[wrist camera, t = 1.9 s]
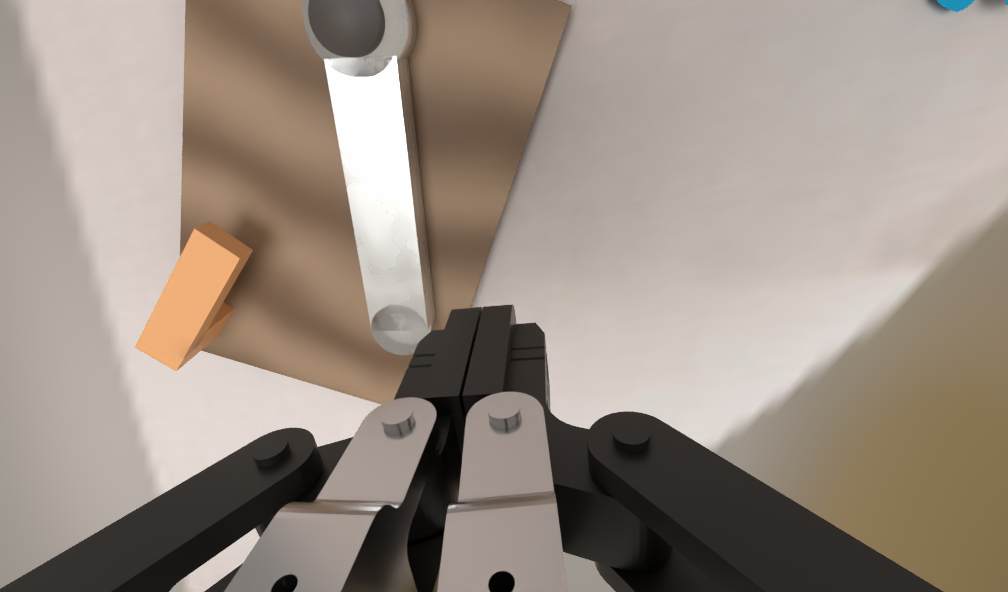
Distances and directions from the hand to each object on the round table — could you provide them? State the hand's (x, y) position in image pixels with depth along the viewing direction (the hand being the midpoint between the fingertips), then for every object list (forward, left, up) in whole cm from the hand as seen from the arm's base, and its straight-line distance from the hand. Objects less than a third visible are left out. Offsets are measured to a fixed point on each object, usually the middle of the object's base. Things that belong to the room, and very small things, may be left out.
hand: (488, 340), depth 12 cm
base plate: (+4, -9, -16) cm, 19 cm away
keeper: (+10, -14, -15) cm, 23 cm away
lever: (+1, -6, -15) cm, 16 cm away
